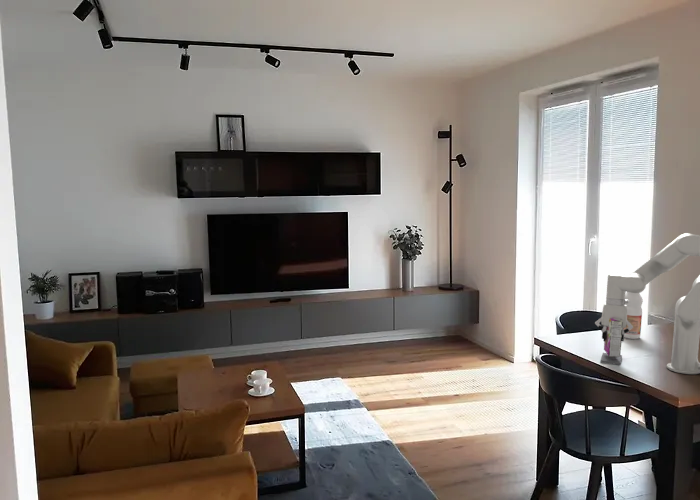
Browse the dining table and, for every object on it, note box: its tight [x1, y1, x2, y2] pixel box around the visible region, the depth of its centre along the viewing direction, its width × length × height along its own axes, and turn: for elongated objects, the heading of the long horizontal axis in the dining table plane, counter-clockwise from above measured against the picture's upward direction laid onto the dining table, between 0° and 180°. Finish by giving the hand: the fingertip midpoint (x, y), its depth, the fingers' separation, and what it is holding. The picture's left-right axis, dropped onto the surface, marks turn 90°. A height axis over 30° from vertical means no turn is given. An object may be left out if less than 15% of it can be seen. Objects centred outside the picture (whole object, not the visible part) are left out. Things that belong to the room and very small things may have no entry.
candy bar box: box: [603, 319, 623, 357], centre depth 258 cm, size 11×5×16 cm, turn 168°
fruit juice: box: [624, 291, 644, 340], centre depth 297 cm, size 9×9×28 cm
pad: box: [600, 352, 623, 366], centre depth 259 cm, size 8×13×1 cm, turn 153°
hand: (612, 341), depth 258 cm, fingers closed on candy bar box, 5 cm apart
